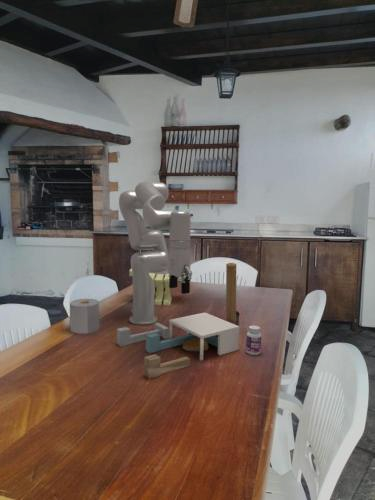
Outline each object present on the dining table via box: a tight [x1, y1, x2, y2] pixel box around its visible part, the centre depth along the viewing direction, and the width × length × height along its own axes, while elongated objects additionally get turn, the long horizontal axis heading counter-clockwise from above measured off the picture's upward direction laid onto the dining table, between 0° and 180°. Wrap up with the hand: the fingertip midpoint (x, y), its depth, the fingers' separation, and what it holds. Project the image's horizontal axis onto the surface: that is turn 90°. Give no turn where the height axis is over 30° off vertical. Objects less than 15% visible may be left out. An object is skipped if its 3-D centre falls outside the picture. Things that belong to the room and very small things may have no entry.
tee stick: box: [116, 322, 170, 347], centre depth 149 cm, size 8×20×6 cm, turn 126°
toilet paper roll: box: [69, 298, 101, 335], centre depth 160 cm, size 12×12×12 cm
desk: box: [168, 312, 240, 361], centre depth 144 cm, size 20×18×9 cm
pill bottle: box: [245, 325, 262, 356], centre depth 139 cm, size 5×5×10 cm
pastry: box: [182, 338, 209, 352], centre depth 142 cm, size 9×7×4 cm
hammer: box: [225, 262, 240, 326], centre depth 160 cm, size 20×5×30 cm, turn 164°
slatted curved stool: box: [128, 267, 186, 306], centre depth 205 cm, size 30×16×18 cm, turn 89°
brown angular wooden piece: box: [143, 353, 191, 380], centre depth 123 cm, size 3×16×6 cm, turn 126°
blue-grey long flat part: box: [145, 333, 218, 354], centre depth 141 cm, size 12×26×6 cm, turn 126°
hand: (179, 290), depth 142 cm, fingers open, 9 cm apart
